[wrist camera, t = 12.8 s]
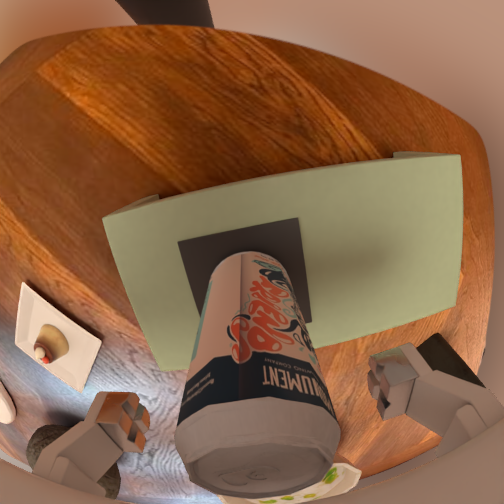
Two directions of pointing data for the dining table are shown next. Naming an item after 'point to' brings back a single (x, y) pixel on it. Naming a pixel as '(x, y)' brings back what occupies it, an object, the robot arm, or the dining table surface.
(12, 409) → the decorative plate
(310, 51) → the dining table surface
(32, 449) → the vase
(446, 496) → the robot arm
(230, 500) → the bowl
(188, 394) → the beer can
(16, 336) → the dessert
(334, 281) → the shelf
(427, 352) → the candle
